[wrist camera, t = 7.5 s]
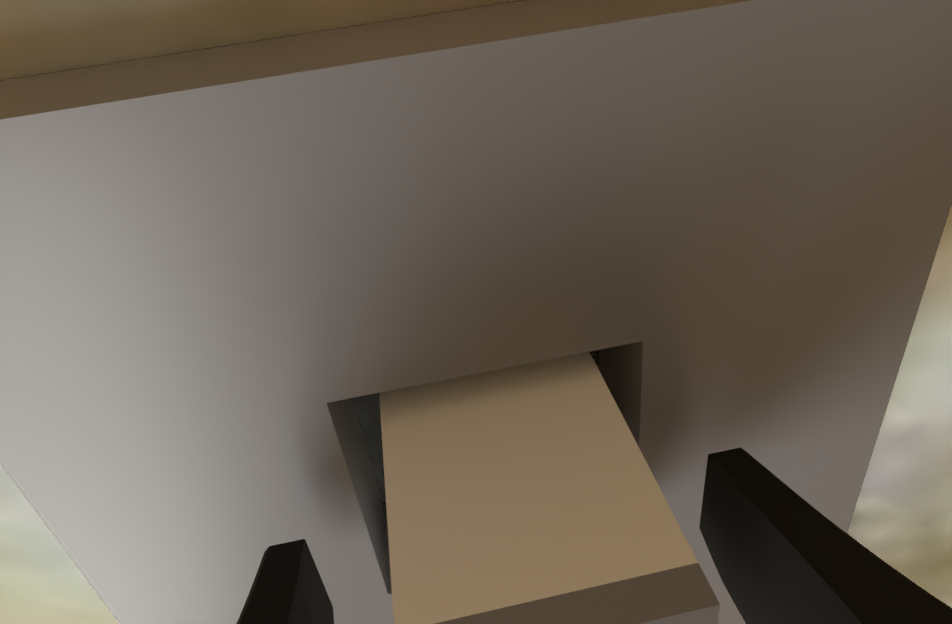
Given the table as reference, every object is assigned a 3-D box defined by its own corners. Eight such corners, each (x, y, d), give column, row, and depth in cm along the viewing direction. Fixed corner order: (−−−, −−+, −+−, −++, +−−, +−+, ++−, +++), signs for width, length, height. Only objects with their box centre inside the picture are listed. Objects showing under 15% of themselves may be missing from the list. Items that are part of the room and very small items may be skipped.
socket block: (769, 544, 20) (829, 639, 17) (235, 662, 19) (218, 782, 16) (901, -58, 11) (1064, -40, 8) (-109, 97, 10) (-262, 172, 7)
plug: (572, 437, 16) (699, 750, 10) (411, 472, 16) (448, 813, 10) (564, 302, 14) (719, 604, 8) (375, 340, 14) (398, 680, 8)
